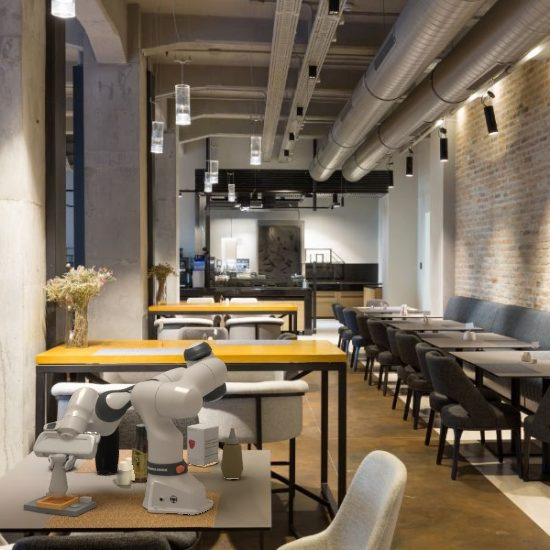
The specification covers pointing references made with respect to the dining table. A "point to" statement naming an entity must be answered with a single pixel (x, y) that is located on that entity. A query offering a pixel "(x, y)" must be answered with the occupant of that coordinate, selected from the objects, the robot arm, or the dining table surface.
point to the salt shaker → (58, 477)
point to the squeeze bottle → (232, 457)
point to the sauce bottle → (140, 454)
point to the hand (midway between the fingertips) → (57, 468)
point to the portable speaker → (108, 454)
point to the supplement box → (202, 444)
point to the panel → (61, 505)
